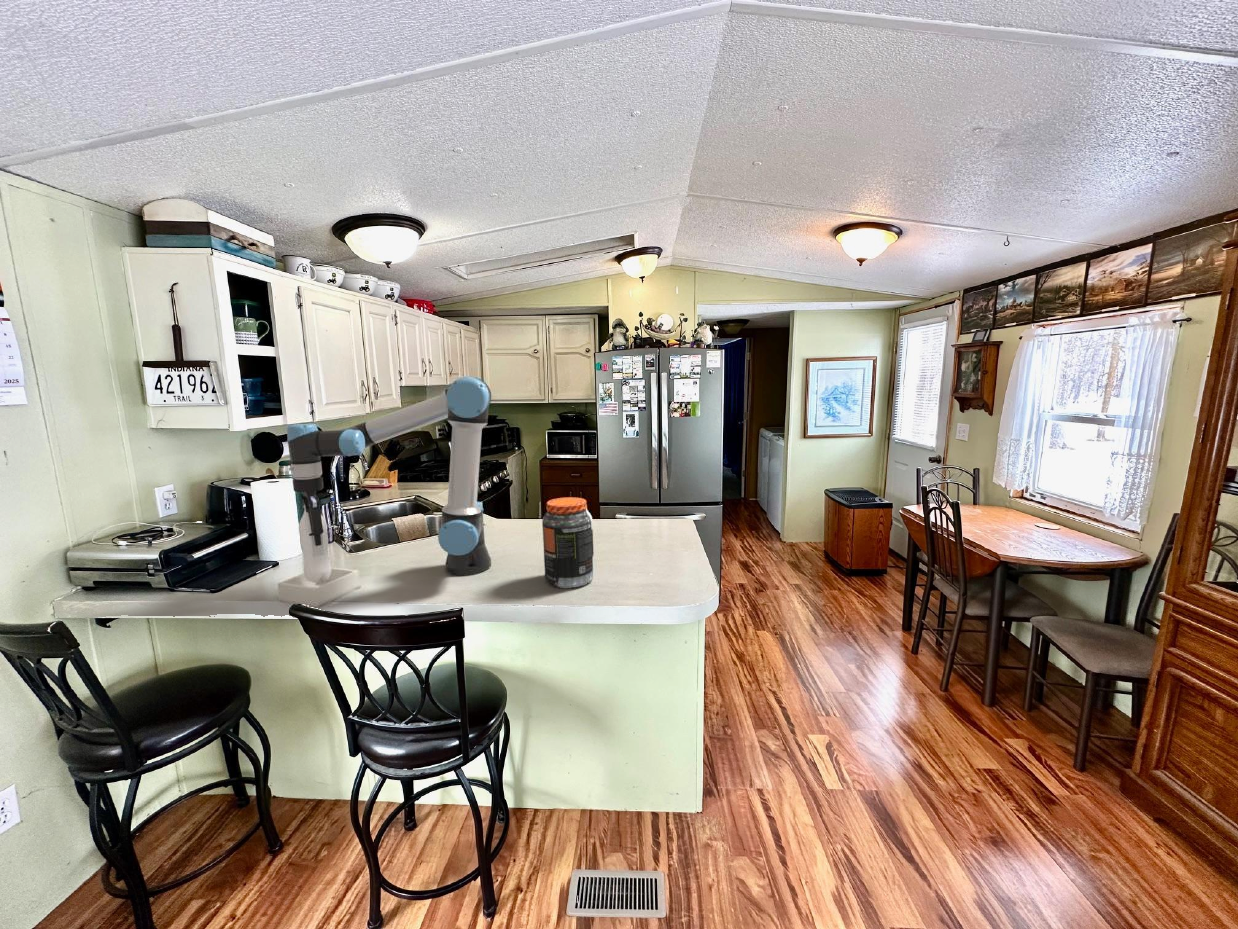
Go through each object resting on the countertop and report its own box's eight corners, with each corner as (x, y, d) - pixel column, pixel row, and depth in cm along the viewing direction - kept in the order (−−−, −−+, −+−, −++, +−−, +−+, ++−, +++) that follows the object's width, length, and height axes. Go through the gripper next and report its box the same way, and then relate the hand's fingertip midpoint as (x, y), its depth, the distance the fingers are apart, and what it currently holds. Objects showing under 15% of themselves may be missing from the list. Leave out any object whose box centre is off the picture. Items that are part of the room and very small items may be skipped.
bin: (360, 587, 157) (358, 570, 156) (318, 608, 143) (315, 589, 142) (324, 582, 161) (322, 565, 160) (279, 601, 147) (277, 583, 146)
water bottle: (299, 581, 149) (289, 500, 145) (322, 573, 156) (313, 495, 152) (315, 585, 146) (305, 502, 142) (338, 577, 153) (329, 497, 149)
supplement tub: (601, 574, 165) (599, 497, 160) (582, 592, 150) (580, 509, 146) (558, 568, 170) (555, 494, 166) (535, 586, 155) (532, 505, 151)
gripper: (286, 474, 151) (295, 547, 155) (298, 483, 136) (308, 564, 140) (315, 471, 156) (323, 541, 160) (329, 480, 141) (338, 557, 145)
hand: (316, 552), depth 150 cm, fingers closed on water bottle, 7 cm apart
